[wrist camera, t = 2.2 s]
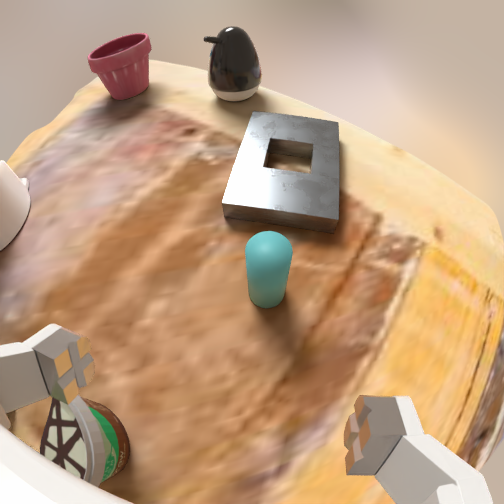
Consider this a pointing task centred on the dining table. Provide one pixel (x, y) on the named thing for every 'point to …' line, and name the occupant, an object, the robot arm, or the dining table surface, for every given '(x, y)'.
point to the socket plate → (286, 174)
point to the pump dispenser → (233, 65)
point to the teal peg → (267, 268)
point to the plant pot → (123, 65)
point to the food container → (85, 440)
